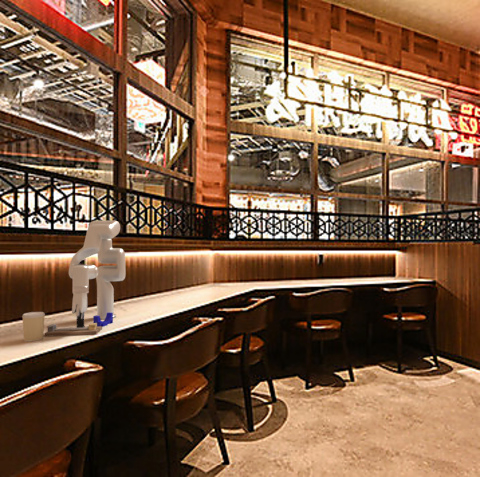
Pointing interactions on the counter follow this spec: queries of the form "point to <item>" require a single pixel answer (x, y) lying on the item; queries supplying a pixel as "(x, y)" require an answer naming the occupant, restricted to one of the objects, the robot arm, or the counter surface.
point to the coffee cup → (33, 326)
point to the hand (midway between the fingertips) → (80, 326)
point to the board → (91, 331)
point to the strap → (72, 328)
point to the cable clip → (107, 320)
